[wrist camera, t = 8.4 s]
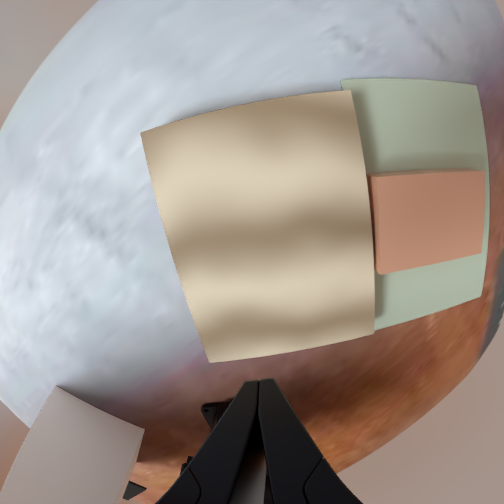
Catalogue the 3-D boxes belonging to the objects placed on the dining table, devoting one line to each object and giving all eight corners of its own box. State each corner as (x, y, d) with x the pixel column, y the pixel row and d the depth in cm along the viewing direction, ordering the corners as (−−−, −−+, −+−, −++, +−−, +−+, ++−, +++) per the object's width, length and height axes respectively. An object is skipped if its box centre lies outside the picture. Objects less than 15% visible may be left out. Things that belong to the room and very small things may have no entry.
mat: (478, 294, 20) (481, 296, 19) (368, 328, 21) (369, 331, 20) (473, 85, 14) (476, 85, 13) (340, 81, 15) (341, 79, 15)
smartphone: (130, 498, 39) (147, 486, 34) (129, 501, 38) (146, 490, 34) (98, 484, 38) (108, 469, 33) (97, 487, 37) (107, 472, 32)
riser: (365, 319, 20) (374, 333, 19) (213, 346, 22) (209, 362, 20) (340, 95, 15) (350, 89, 13) (152, 134, 16) (140, 133, 14)
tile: (466, 244, 18) (481, 253, 16) (368, 262, 18) (379, 274, 17) (467, 168, 16) (484, 171, 14) (364, 174, 16) (376, 177, 15)
